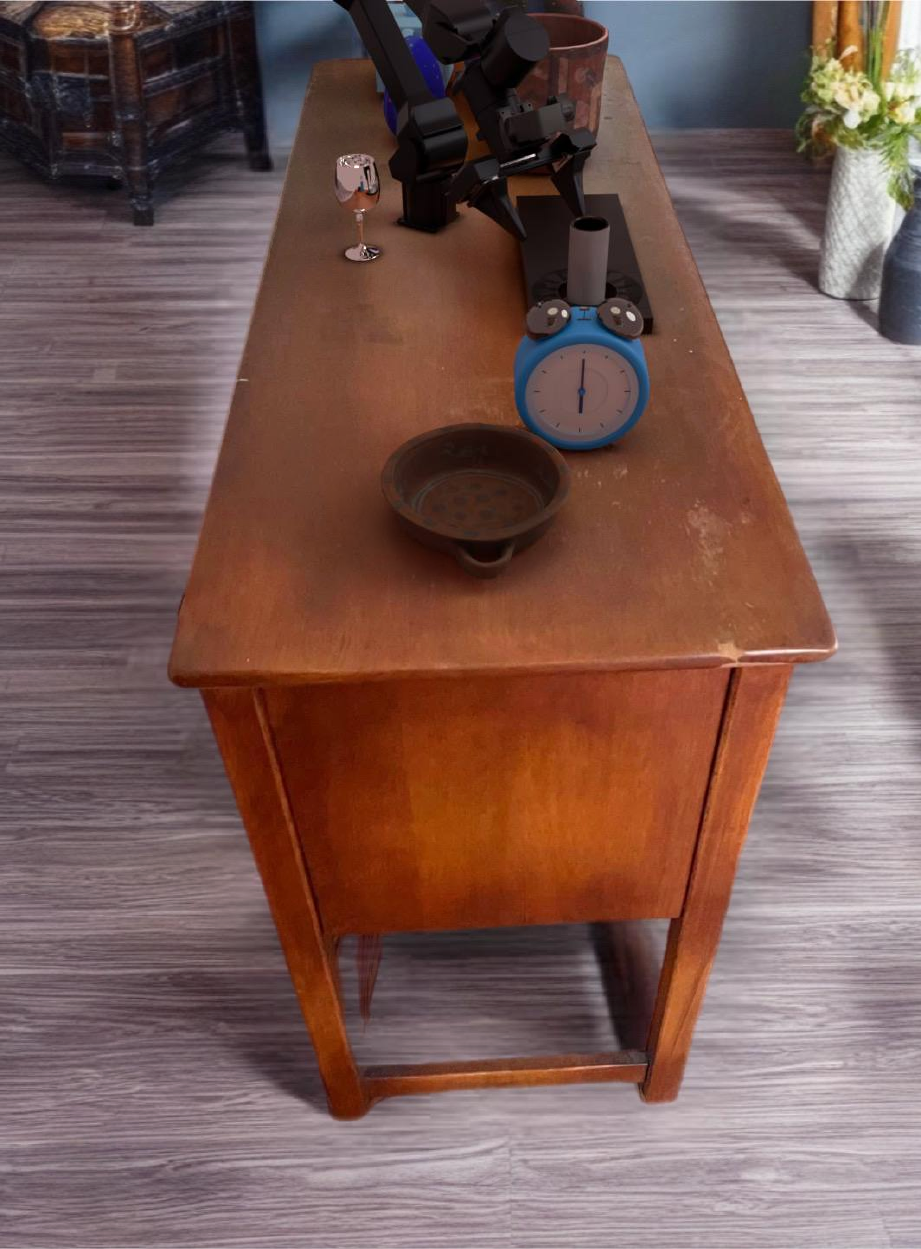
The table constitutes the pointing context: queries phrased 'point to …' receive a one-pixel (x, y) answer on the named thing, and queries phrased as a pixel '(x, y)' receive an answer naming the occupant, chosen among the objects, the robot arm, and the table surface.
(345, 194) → the wineglass
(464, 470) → the dish
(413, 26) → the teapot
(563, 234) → the plant stand
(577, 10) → the decorative sphere
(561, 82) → the pottery
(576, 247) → the planter
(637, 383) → the alarm clock
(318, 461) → the table surface
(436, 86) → the ornament
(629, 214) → the table surface
